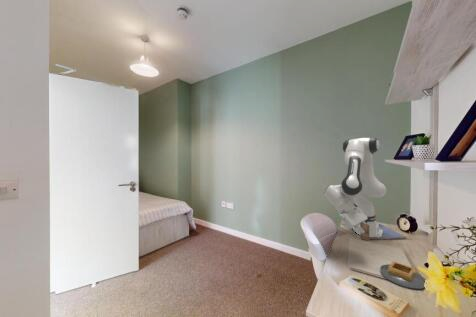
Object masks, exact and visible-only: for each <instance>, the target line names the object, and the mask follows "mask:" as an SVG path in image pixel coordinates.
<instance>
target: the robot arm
mask: <svg viewBox="0 0 476 317" xmlns="http://www.w3.org/2000/svg"><path fill="white" fill-rule="evenodd" d="M380 146H381V144H380V141H379V139H378V138H376V137H373V136H372V137H360V138H352V139H346V140H344V141H343V142H342V151H343V152H344V164H345V165H346V166H347V172H346V176H345V177H344V178H343V179H342V181H341V184H336V185H334V184H331V185H328V187H326V189H325V190H324V196H325V198H326V200H327V201H328V202H329V203H330V204H331V205H332V206H333V207H334V208H335V210H336V211H337V212H338V213H339V218H340V220H341V221H342V223H343V224H344V225H345V227H346V228H347V229H349V230H351V229H352V228H353V230H354V231H355V232H356V233H357V234H356V233H355V232H354V231H353V230H352V231H353V232H354V233H355V234H356V235H358V234H359V235H358V236H361V233H364V232H366V231H365V230H364V229H362V228H361V227H360V224H361V223H365V224H369V238H382V236H383V233H384V231H383V229H381V228H380V224H379V223H378V221H376V220H377V219H376V217H377V215H376V213H375V206H374V204H373V203H372V202H371V201H369V200H368V199H366V197H371V198H383V197H385V195H387V188H386V186H385V184H384V183H382V182H381V181H380V180H379V179H378V178H377V177H376V175H375V171H374V162H373V160H374V159H373V155H374V153H375V154H376V152H378V151H379V148H380ZM360 177H361V178H362V179H363V180H361V178H360ZM351 200H353V202H354V203H352V202H350V201H351Z"/></svg>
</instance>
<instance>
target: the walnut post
mask: <svg viewBox="0 0 476 317" xmlns="http://www.w3.org/2000/svg"><path fill="white" fill-rule="evenodd" d="M360 227H361V228H362V229H364V230H365V231H366V232H364V233H361V235H360V240H363V241H367V242H368V241H370V239H371V238H370V237H369V224H365V223H361V224H360Z"/></svg>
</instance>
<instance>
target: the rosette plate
mask: <svg viewBox="0 0 476 317" xmlns="http://www.w3.org/2000/svg"><path fill="white" fill-rule="evenodd" d="M379 270H380V271H379V272H380V274H381V276H382V277H383V276H384V279H385V280H387V281H389V282H391V283H393V284H395V285H397V286H399V287H402V288H405V289H409V290H414V291H415V290H418V291H420V290H425V289H426V288H425V287H424V283H425V280H426V278H425V277H424V276H422V275H421V274H420V273H418V272H416V268H414V267H412V266H409V265H406V264H403V263H400V262H398V261H394V260H393V261H392V262H391V263H390V264H387V263H386V264H383V265H381V266H380V268H379Z"/></svg>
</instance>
